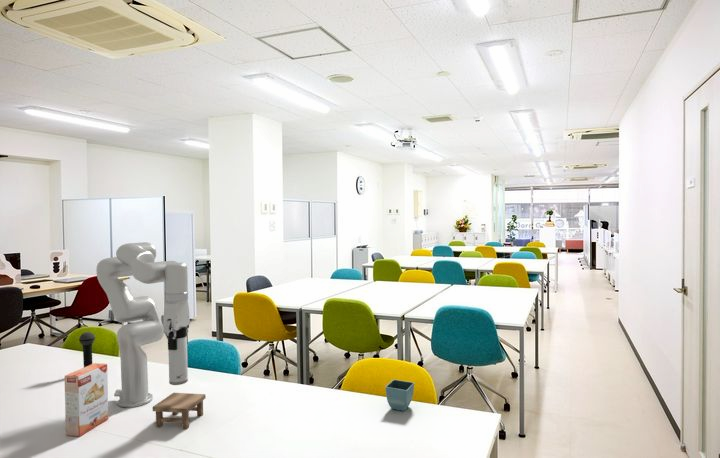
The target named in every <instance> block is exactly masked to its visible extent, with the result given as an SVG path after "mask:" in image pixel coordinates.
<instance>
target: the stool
mask: <svg viewBox="0 0 720 458" xmlns="http://www.w3.org/2000/svg"><path fill="white" fill-rule="evenodd" d="M204 400H206V394H205V393H187V392H172V393H171V394H169V395H168V396H166V397H165V398H164V399H162V400H160V401H159V402H157V403H156V404H155V405H153V406H152V412H155V428H162V427H163V426H164V423H175V424H182V425H181V426H182V427H181V428H182V430H188V429H189V428H190V415H189V414H190V413H189V412H196V417H203V416H204ZM164 413H171V415H172V416H177V415H178V414H181V417H180V418H179V417H166V416H165V417H164Z"/></svg>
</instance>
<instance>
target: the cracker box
mask: <svg viewBox="0 0 720 458" xmlns="http://www.w3.org/2000/svg"><path fill="white" fill-rule="evenodd" d="M108 378H109V377H108V364H107V363H98V362H93V363H92V364H91V365H89V366H87V367H84V366H83V367H82V368H80V369H78V370H75V371H73V372H69V373H68V374H66V375H64V404H65V405H64V407H65V408H64V411H65V412H64V413H65V436H70V437H81V436H83V435H85V434H87V433H88V432H89V431H91V430H93V429H94V428H96V427H97V426H99V425H101V424H103V423H104V422H107V420H109V388H108V384H109V381H108V380H109V379H108Z"/></svg>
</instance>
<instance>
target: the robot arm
mask: <svg viewBox="0 0 720 458" xmlns="http://www.w3.org/2000/svg"><path fill="white" fill-rule="evenodd" d="M115 252H116V254H115V255H116V256H114V257H113V256H111V257H107V258H103V259H101V260H100V261H99V262H98V263H97V265H96V270H95V271H96V277H97V280H98V283H99V284H100V286H101V288H102V289H103V291H104V292H105V294H106V296H107V299H108V302H109V305H110V308H111V311H112V314H113V317H114V319H115V320H116V321H117V322H118V323H120V324H122V323H124V325H122V326H121V327H119V328H118V330H117V333H116V341H117V344H118V348H119V355H120V377H121V379H120V380H121V389H116V390H115V392H114V393H113V396H114V397H119V399H118V400H117V405H118V407H122V408H135V407H139V406H143V405H145V404H146V405H147V404H148V403H150V402H151V401H152V400H153V399H154V397H153V394H152V393H150V392H149V379H148V377H149V375H148V356H147V353H146V352H145V351H144V350H143V349H142V348H141V347H142V346H145V345H149V344H153V343H155V342H156V343H157V342H159V341H160V340H162V339H163V338H164V335H165V337H166V339H167V350H177V339H175V338H176V333H177V330H179V329H182V328H184V327H187V333H186V334H187V345H188V343H189V341H188V338H189V337H188V335H189V334H188V333H189V328H190V325H191V324H190V323H191V322H192V321H191V319H190V307H189V287H188V286H189V284H188V282H189V281H188V278H189V275H188V266H187V265H188V264H187V263H184V262H177V261H176V260H166V261H165V260H164V261H163V260H162V261H155V259H156V258H157V249H156V248H155V246H154V245H153V243H150V242H130V243H124V244H122V245H120V246H119V247H118V248H117V249H116V251H115ZM130 276H132V277H133V278H134V279H135V280H137V281H139V282H140V283H143V284H146V285H147V284H148V285H150V284H158V283H164V284H165V286H164V288H165V290H164V291H165V303H164V309H163V322H162V318H161V316H160V312H159V311H158V307H157V305H156V303H155V301H154V299H152V297H149V296H148V295H147V296H145V295H141V296H136V297H134V296H133V294H132V292H131V290H130V289H131V288H130V287H129V285H127V284H126V282H124V281H123V280H121V279H119V278H122V277H123V278H124V277H130ZM140 320H141V321H140ZM134 321H135V322H134ZM125 323H127V324H125ZM172 329H173V330H172ZM171 332H173V334H172V333H171Z"/></svg>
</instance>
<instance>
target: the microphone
mask: <svg viewBox="0 0 720 458" xmlns="http://www.w3.org/2000/svg"><path fill="white" fill-rule="evenodd" d="M95 340H96V336H95V334H94V333H93V332H91V331H85V332H83V333H82V334H81V335H80V336H79V338H78V341H79V343H80V345H82V356H83V357H82V359H83V360H82V361H83V368H84V367H87V366H89V365H91V364H93V344H94V342H95Z"/></svg>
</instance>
